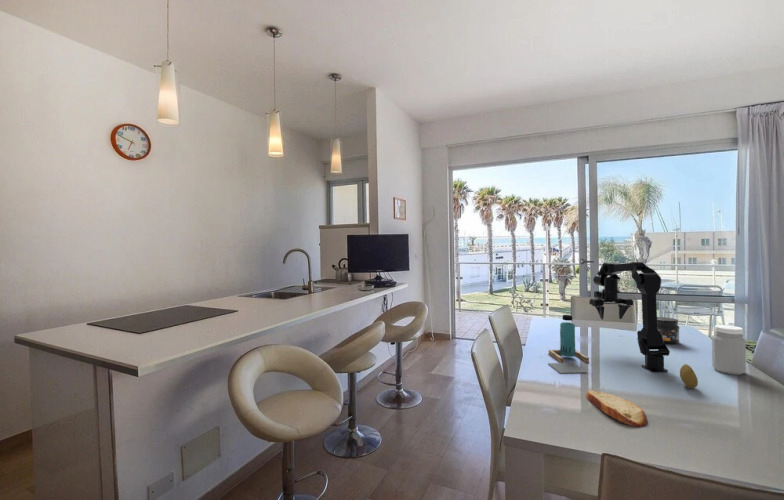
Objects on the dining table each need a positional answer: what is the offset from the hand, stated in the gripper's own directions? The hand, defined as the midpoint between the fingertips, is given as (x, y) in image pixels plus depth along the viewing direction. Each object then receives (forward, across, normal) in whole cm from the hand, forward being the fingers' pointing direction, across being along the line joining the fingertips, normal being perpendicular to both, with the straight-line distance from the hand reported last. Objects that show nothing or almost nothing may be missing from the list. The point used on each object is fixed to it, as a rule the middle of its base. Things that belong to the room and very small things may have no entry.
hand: (611, 319), depth 173 cm
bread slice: (+15, +38, +61) cm, 74 cm away
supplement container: (+15, -34, -8) cm, 38 cm away
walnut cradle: (+15, +28, +12) cm, 34 cm away
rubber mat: (+15, +35, +25) cm, 45 cm away
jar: (+15, -27, +32) cm, 45 cm away
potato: (+15, +1, +46) cm, 49 cm away
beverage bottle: (+15, +28, +12) cm, 34 cm away
